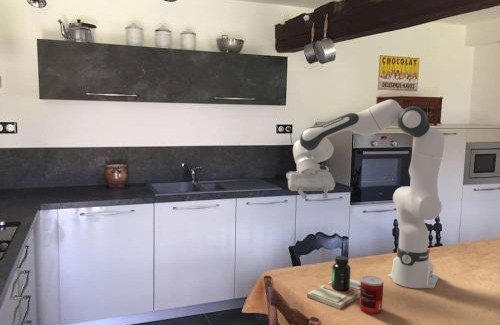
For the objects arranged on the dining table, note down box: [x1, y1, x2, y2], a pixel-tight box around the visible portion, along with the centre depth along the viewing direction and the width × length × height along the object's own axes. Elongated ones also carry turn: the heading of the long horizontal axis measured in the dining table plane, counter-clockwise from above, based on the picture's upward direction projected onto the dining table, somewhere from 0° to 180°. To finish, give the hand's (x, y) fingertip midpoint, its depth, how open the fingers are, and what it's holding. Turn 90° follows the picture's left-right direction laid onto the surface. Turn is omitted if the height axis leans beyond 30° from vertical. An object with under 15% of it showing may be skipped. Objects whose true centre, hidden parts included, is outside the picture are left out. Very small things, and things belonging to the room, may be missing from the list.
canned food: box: [359, 275, 384, 315], centre depth 151 cm, size 8×8×11 cm
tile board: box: [306, 278, 361, 310], centre depth 165 cm, size 24×14×2 cm, turn 138°
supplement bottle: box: [331, 255, 352, 291], centre depth 165 cm, size 7×7×12 cm
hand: (315, 197), depth 180 cm, fingers open, 8 cm apart
